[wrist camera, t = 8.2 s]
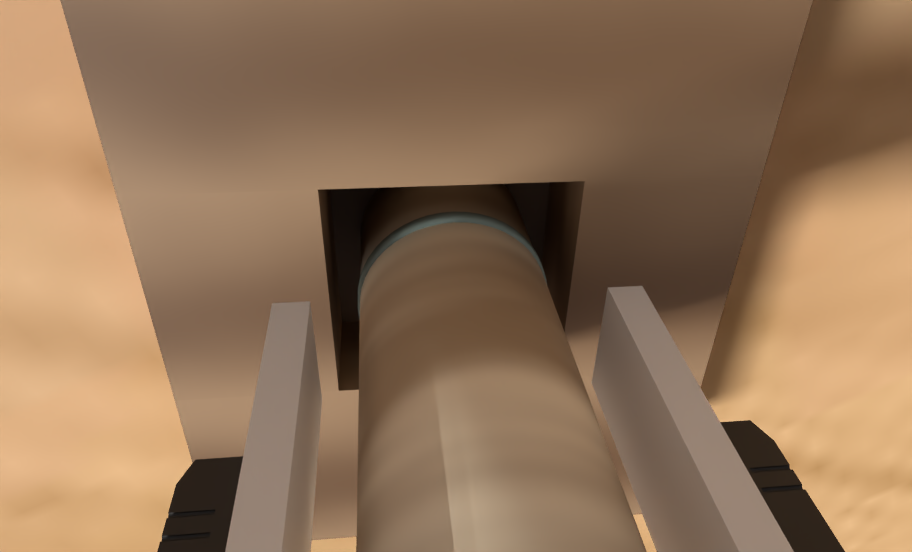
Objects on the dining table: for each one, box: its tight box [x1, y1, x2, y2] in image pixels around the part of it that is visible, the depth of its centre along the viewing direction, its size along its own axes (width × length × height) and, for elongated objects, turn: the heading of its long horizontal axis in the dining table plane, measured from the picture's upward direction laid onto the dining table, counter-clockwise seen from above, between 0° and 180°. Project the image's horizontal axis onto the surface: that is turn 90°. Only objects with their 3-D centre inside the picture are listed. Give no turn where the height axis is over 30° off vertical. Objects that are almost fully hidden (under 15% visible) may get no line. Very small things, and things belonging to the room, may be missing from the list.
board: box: [61, 0, 813, 540], centre depth 18 cm, size 18×14×4 cm
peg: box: [356, 184, 646, 552], centre depth 13 cm, size 4×4×16 cm
